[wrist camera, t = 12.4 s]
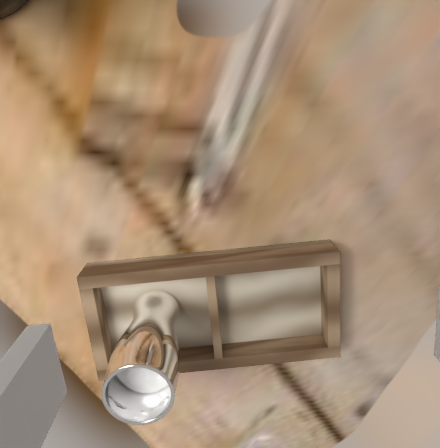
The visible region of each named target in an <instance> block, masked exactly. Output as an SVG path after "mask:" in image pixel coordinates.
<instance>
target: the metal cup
mask: <svg viewBox="0 0 440 448" xmlns="http://www.w3.org/2000/svg"><path fill="white" fill-rule="evenodd" d="M180 318H181V309H180V305H179V303H178V301H177V300H176V299H175V298H174V297H173V296H172V295H170V294H169V293H166V292H163V291H157V290H155V291H149V292H146V293H144V294H142V295H141V296H139V297H138V298H137V300H136V301H135V303H134V305H133V308H132V321H131V323H130V325H129V326H128V327H127V329H126V330H125V331H124V333H123V334H122V336H121V337H120V339H119V340H118V342H117V344H116V346H115V348H114V350H113V353H112V355H111V358H110V361H109V364H108V367H107V371H106V376H105V380H104V384H103V387H102V401H103V404H104V406H105V408H106V409H107V410H108V411H109V413H110V414H111V415H113V416H114V417H115V418H117V419H118V420H120V421H122V422H125V423H128V424H134V425H144V424H150V423H153V422H155V421H158V420H159V419H161V418H163V417H164V416H165V415H166V414H167V413H168V412H169V411H170V409H171V407H172V405H173V403H174V398H175V392H176V387H177V382H178V377H179V369H180V353H179V345H178V340H177V335H176V328H177V326H178V323H179V321H180Z"/></svg>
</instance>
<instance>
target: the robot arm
mask: <svg viewBox="0 0 440 448" xmlns="http://www.w3.org/2000/svg"><path fill="white" fill-rule="evenodd" d="M27 1H28V0H0V18H3V17H6V16H8V15H10V14H12V13H14V12H15V11H17V10H18V9H20V8H21V7H22V6H23V5H24V4H25V3H26V2H27ZM434 355H435V357H436V358H437V359H438V360H439V361H440V286H439V298H438V311H437V323H436V336H435V349H434ZM66 393H67V390H66V385H65V381H64V377H63V373H62V369H61V365H60V361H59V357H58V353H57V349H56V344H55V340H54V336H53V332H52V328H51V324H40V325H30V326H27V327H26V328H25V330H24V331H23V332H22V333H21V335H20V336H19V337H18V339H17V340H16V341H15V342H14V344H13V345H12V346H11V348H10V349H9V350H8V351H7V353H6V354H5V355H4V357H3V358H2V359H1V360H0V448H41V446H42V444H43V442H44V440H45V438H46V435H47V433H48V431H49V429H50V427H51V425H52V423H53V420H54V418H55V416H56V414H57V412H58V410H59V408H60V406H61V404H62V401H63V399H64V397H65V395H66Z"/></svg>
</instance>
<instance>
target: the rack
mask: <svg viewBox="0 0 440 448" xmlns="http://www.w3.org/2000/svg"><path fill="white" fill-rule="evenodd" d="M77 281H78V286H79V291H80V295H81V300H82V305H83V309H84V314H85V319H86V323H87V328H88V333H89V337H90V342H91V347H92V351H93V356H94V361H95V365H96V370H97V375H98V379H99V381H104V380H105V376H106V371H107V367H108V364H109V361H110V358H111V355H112V353H113V350H114V348H115V346H116V344H117V342H118V340H119V339H120V337H121V336H122V334H123V333H124V331H125V330H126V329H127V327H128V326H129V325H130V323H131V321H132V308H133V305H134V303H135V301H136V300H137V298H138V297H139V296H141V295H142V294H144V293H146V292H149V291H155V290H157V291H163V292H166V293H169V294H170V295H172V296H173V297H174V298H175V299H176V300H177V301H178V303H179V305H180V309H181V318H180V321H179V323H178V326H177V328H176V335H177V340H178V345H179V353H180V369H179V373H184V372H194V371H204V370H214V369H224V368H234V367H244V366H254V365H264V364H274V363H284V362H294V361H304V360H314V359H324V358H334V357H340V251H339V250H338V249H337V248H336V247H335V245H334V244H333V243H332V242H331V241H330V240H320V241H310V242H299V243H289V244H279V245H269V246H258V247H248V248H238V249H228V250H217V251H207V252H197V253H187V254H176V255H166V256H156V257H146V258H135V259H125V260H115V261H105V262H94V263H87V264H86V265H85V267H84V268H83V270H82V271H81V272H80V274H79V275H78V277H77Z"/></svg>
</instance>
